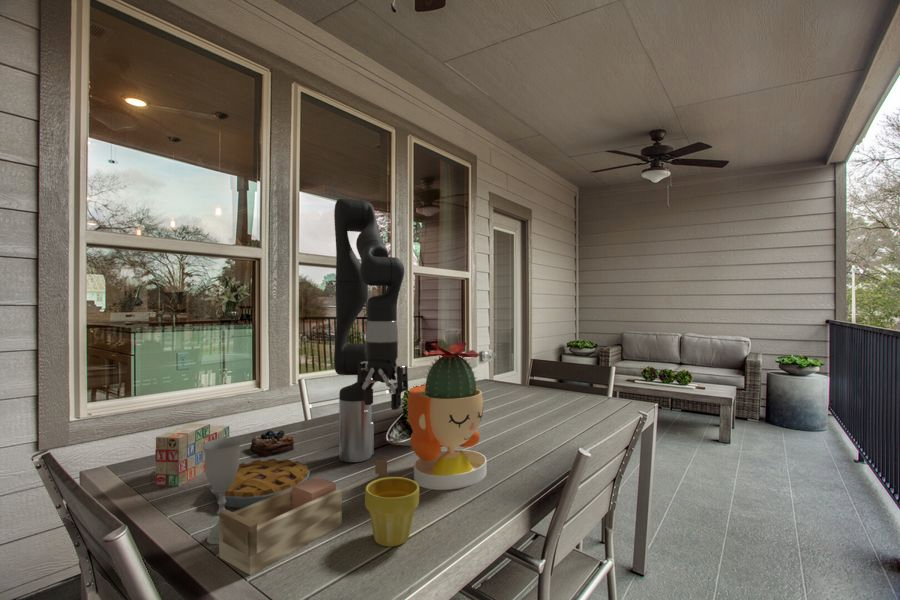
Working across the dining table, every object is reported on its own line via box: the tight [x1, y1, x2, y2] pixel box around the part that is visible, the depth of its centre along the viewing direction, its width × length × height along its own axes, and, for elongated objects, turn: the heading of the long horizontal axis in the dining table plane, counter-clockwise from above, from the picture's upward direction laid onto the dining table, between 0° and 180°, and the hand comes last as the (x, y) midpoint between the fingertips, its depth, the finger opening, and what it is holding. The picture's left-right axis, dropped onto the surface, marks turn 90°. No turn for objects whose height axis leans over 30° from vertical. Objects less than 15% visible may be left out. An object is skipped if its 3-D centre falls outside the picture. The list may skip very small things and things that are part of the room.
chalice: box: [202, 437, 243, 545], centre depth 86 cm, size 7×7×18 cm
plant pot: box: [364, 476, 420, 547], centre depth 86 cm, size 10×10×10 cm
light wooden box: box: [218, 488, 343, 576], centre depth 84 cm, size 20×9×8 cm, turn 146°
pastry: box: [249, 429, 295, 458], centre depth 137 cm, size 11×12×6 cm
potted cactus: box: [407, 341, 488, 491], centre depth 119 cm, size 22×22×35 cm
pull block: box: [292, 458, 388, 510], centre depth 98 cm, size 24×6×6 cm, turn 146°
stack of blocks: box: [154, 423, 231, 487], centre depth 120 cm, size 21×6×12 cm, turn 174°
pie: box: [208, 458, 311, 509], centre depth 107 cm, size 22×22×5 cm
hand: (381, 406), depth 107 cm, fingers open, 8 cm apart
